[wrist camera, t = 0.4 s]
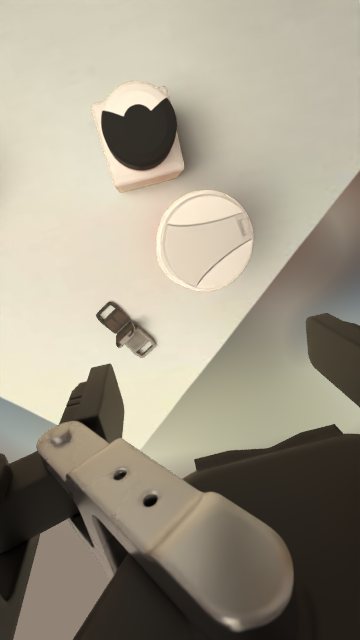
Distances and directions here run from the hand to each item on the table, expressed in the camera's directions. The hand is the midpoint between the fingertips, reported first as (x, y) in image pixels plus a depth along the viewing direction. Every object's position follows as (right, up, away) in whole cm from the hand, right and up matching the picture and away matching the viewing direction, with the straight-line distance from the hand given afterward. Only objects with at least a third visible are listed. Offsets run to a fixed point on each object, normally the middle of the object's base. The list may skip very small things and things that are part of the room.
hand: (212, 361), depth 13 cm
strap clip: (-8, +1, +30) cm, 31 cm away
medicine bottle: (-6, +21, +24) cm, 32 cm away
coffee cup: (-1, +12, +27) cm, 30 cm away
